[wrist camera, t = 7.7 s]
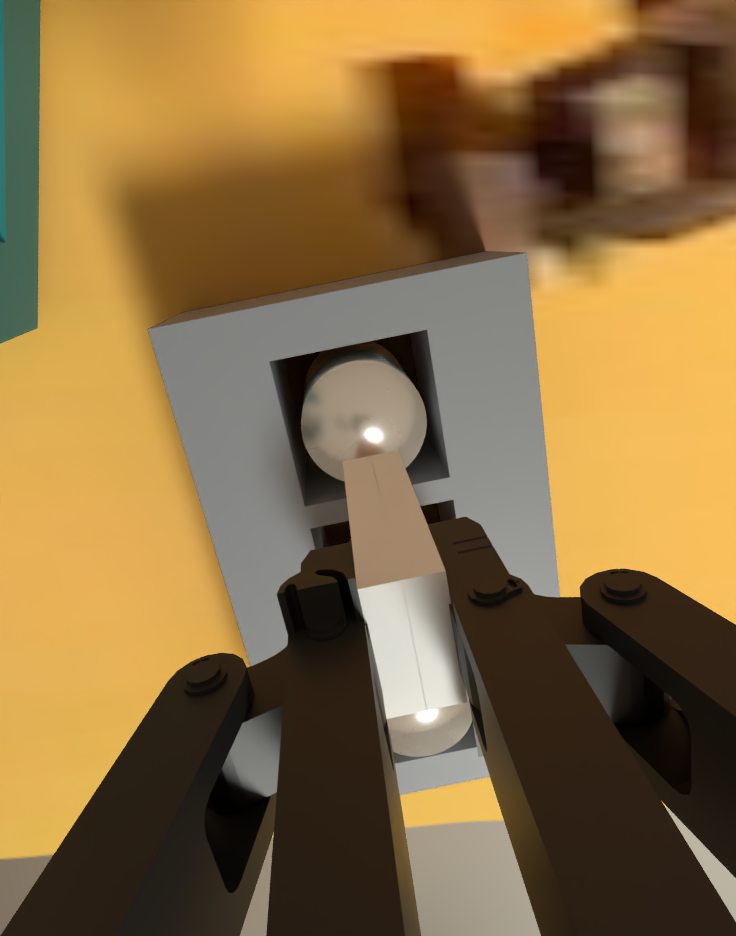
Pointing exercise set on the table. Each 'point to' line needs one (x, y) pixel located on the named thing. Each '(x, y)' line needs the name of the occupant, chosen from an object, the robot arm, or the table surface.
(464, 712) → the steel plug
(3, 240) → the teal l-shaped bracket
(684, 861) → the robot arm
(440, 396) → the grey rectangular block
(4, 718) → the table surface
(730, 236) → the table surface
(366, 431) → the steel plug
